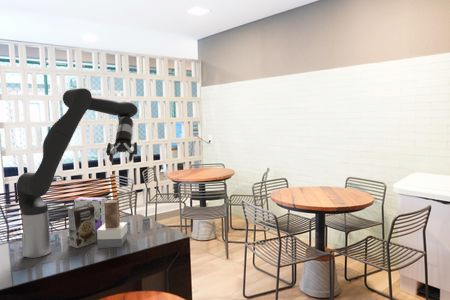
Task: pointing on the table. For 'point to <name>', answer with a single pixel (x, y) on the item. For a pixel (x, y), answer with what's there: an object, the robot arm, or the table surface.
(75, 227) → the coffee box
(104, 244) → the tower base slab
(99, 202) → the candy box
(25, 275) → the table surface
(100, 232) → the tower top slab
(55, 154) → the robot arm
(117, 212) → the walnut block
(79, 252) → the table surface
